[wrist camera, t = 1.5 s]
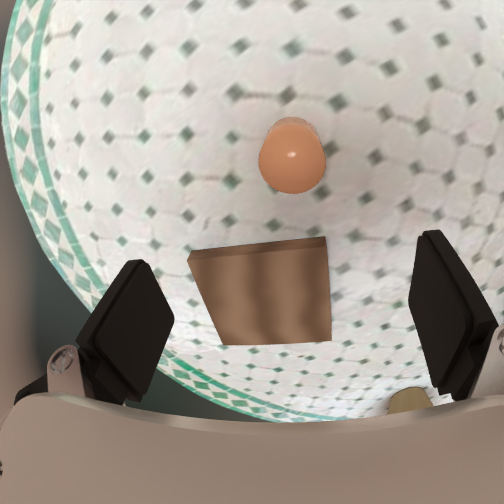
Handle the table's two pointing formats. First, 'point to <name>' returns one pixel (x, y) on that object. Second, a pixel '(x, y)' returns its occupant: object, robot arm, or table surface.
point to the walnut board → (266, 291)
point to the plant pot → (409, 400)
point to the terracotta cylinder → (292, 156)
